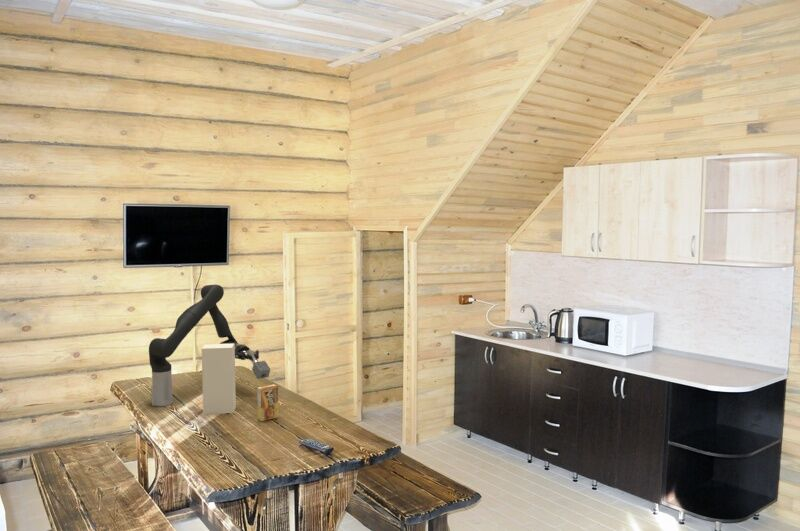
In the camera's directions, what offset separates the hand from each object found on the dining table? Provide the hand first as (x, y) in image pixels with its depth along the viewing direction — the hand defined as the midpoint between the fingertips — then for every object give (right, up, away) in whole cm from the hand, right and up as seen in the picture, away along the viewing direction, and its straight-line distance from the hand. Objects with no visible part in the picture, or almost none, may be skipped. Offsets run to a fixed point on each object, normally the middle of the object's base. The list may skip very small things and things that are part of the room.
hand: (254, 357), depth 325 cm
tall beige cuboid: (-13, -23, -18) cm, 32 cm away
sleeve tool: (+1, -4, -1) cm, 4 cm away
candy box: (+13, -24, -29) cm, 40 cm away
